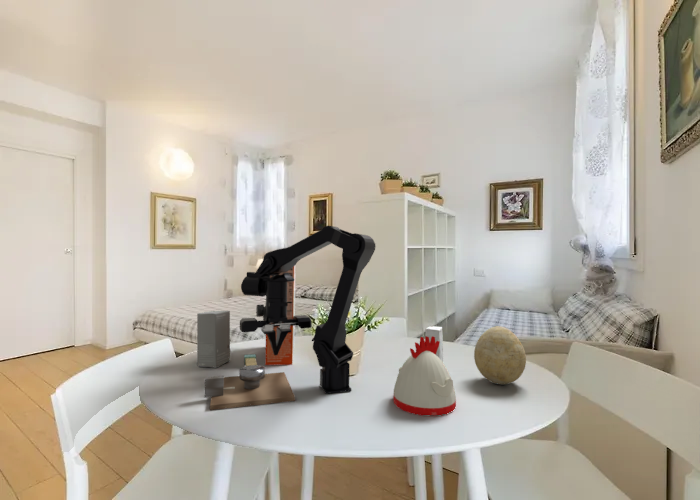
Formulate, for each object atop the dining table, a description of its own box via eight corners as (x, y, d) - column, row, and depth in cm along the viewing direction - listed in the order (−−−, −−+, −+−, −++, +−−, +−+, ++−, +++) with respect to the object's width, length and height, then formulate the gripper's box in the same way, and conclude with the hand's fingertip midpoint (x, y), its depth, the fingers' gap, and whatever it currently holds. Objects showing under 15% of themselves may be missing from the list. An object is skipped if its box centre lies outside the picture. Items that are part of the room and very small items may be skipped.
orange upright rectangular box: (271, 346, 131) (273, 264, 132) (294, 346, 132) (295, 264, 133) (265, 365, 108) (267, 265, 109) (292, 364, 109) (294, 266, 110)
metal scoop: (265, 380, 85) (266, 371, 85) (239, 382, 84) (239, 373, 84) (260, 361, 101) (260, 353, 101) (238, 363, 99) (238, 355, 99)
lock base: (283, 374, 100) (283, 356, 100) (294, 400, 82) (295, 378, 82) (208, 380, 94) (208, 361, 94) (202, 411, 75) (203, 387, 76)
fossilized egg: (477, 372, 104) (477, 320, 104) (525, 379, 98) (526, 324, 99) (470, 386, 93) (471, 328, 93) (525, 395, 87) (526, 333, 87)
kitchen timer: (469, 408, 79) (469, 339, 79) (421, 421, 72) (421, 346, 73) (426, 388, 91) (426, 328, 91) (381, 397, 84) (382, 333, 85)
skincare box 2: (440, 372, 104) (440, 330, 104) (424, 370, 106) (425, 328, 106) (443, 366, 109) (443, 326, 110) (428, 364, 111) (429, 325, 111)
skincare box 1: (216, 368, 104) (217, 314, 104) (194, 366, 105) (195, 312, 106) (231, 360, 112) (232, 309, 113) (210, 359, 114) (212, 309, 114)
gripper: (301, 293, 109) (300, 345, 109) (238, 295, 102) (236, 351, 102) (312, 297, 99) (311, 354, 99) (242, 300, 92) (241, 361, 91)
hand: (275, 355), depth 98 cm, fingers closed
